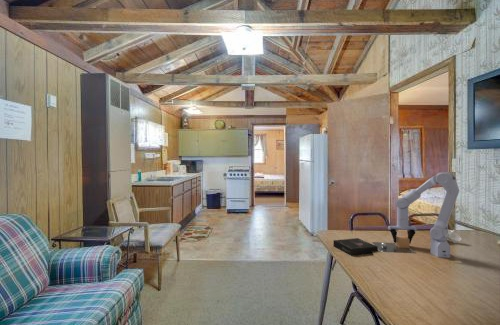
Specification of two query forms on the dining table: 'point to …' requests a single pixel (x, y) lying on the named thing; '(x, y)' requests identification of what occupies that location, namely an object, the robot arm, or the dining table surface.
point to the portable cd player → (355, 246)
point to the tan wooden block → (402, 241)
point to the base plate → (391, 248)
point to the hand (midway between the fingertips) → (402, 242)
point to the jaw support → (453, 236)
